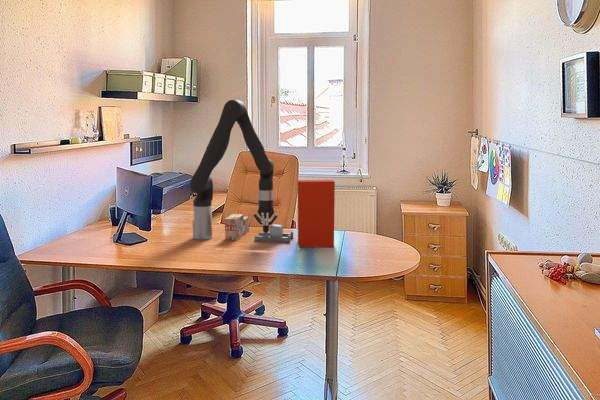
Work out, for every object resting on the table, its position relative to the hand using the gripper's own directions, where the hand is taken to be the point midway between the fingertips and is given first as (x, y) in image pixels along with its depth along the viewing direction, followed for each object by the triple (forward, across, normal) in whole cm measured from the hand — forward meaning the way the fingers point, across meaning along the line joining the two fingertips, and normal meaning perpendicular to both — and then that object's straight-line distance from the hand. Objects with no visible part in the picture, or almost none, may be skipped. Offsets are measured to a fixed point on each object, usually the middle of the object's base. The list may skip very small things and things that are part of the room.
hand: (266, 232), depth 246 cm
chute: (+5, +4, 0) cm, 6 cm away
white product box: (+5, -17, +6) cm, 19 cm away
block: (+4, +5, 0) cm, 6 cm away
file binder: (+5, +26, -4) cm, 26 cm away
